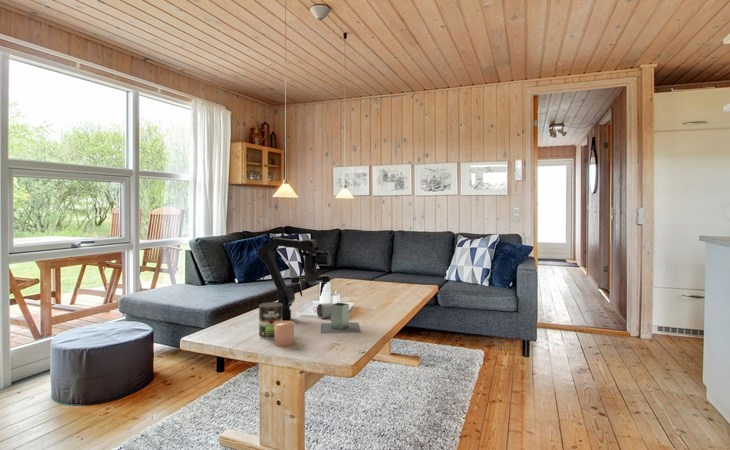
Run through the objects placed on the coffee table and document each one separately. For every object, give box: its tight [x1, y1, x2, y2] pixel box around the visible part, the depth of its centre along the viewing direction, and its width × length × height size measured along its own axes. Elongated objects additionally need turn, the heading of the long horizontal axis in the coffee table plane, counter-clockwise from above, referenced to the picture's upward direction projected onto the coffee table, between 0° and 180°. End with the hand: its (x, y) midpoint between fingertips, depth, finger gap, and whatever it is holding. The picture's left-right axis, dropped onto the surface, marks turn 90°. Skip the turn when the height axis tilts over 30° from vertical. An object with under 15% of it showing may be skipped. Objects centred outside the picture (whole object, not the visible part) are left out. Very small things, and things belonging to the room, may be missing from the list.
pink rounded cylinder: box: [274, 320, 295, 348], centre depth 169 cm, size 8×8×9 cm
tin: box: [330, 302, 350, 330], centre depth 191 cm, size 6×6×11 cm
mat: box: [320, 321, 361, 334], centre depth 191 cm, size 18×16×1 cm
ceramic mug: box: [316, 302, 334, 320], centre depth 212 cm, size 11×8×8 cm
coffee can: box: [258, 301, 283, 339], centre depth 180 cm, size 10×10×14 cm
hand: (311, 296), depth 201 cm, fingers open, 9 cm apart
